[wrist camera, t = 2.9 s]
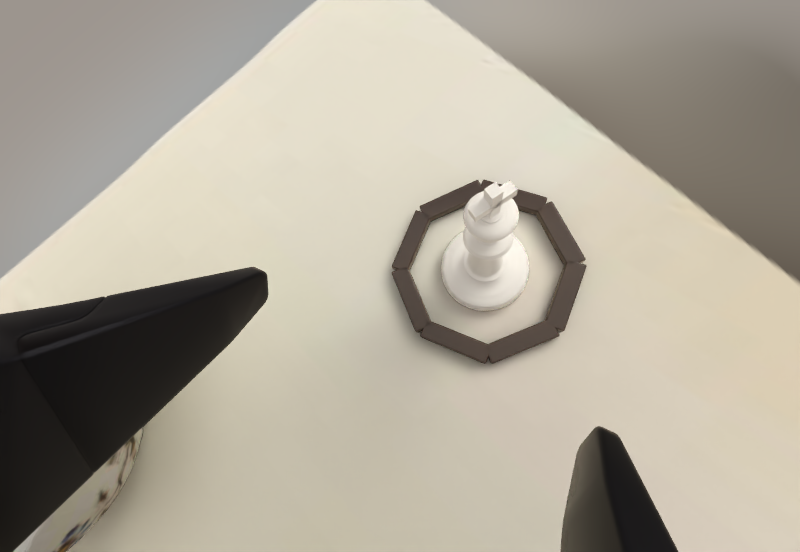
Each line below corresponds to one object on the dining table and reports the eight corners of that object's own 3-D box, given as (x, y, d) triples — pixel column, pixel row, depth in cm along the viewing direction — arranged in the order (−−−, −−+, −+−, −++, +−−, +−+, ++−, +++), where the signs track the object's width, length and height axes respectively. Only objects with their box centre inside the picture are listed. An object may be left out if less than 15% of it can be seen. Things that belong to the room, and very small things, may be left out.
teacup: (56, 595, 22) (-171, 721, 14) (0, 409, 25) (-205, 428, 18) (262, 438, 22) (146, 478, 14) (175, 274, 25) (47, 235, 18)
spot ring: (438, 385, 20) (437, 386, 20) (375, 230, 23) (372, 227, 23) (613, 313, 20) (617, 312, 19) (525, 162, 22) (526, 157, 22)
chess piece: (425, 258, 22) (390, 177, 13) (494, 212, 22) (511, 95, 13) (473, 328, 21) (474, 295, 11) (547, 279, 21) (612, 204, 11)
